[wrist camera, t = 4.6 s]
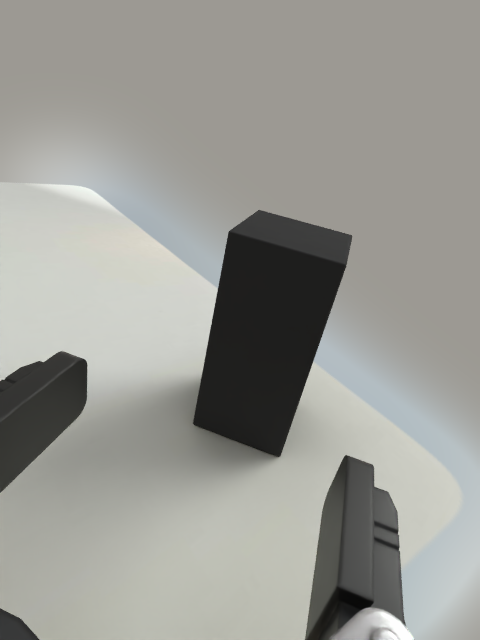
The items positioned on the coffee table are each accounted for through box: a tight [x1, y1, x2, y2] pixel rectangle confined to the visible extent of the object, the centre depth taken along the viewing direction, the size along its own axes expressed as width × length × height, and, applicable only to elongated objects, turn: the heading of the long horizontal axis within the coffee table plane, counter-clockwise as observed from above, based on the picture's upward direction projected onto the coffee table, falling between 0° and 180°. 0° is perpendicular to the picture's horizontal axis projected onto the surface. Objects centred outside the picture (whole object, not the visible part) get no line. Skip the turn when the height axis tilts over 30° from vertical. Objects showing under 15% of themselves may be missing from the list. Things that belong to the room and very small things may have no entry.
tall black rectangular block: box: [193, 210, 352, 457], centre depth 21 cm, size 5×5×11 cm
